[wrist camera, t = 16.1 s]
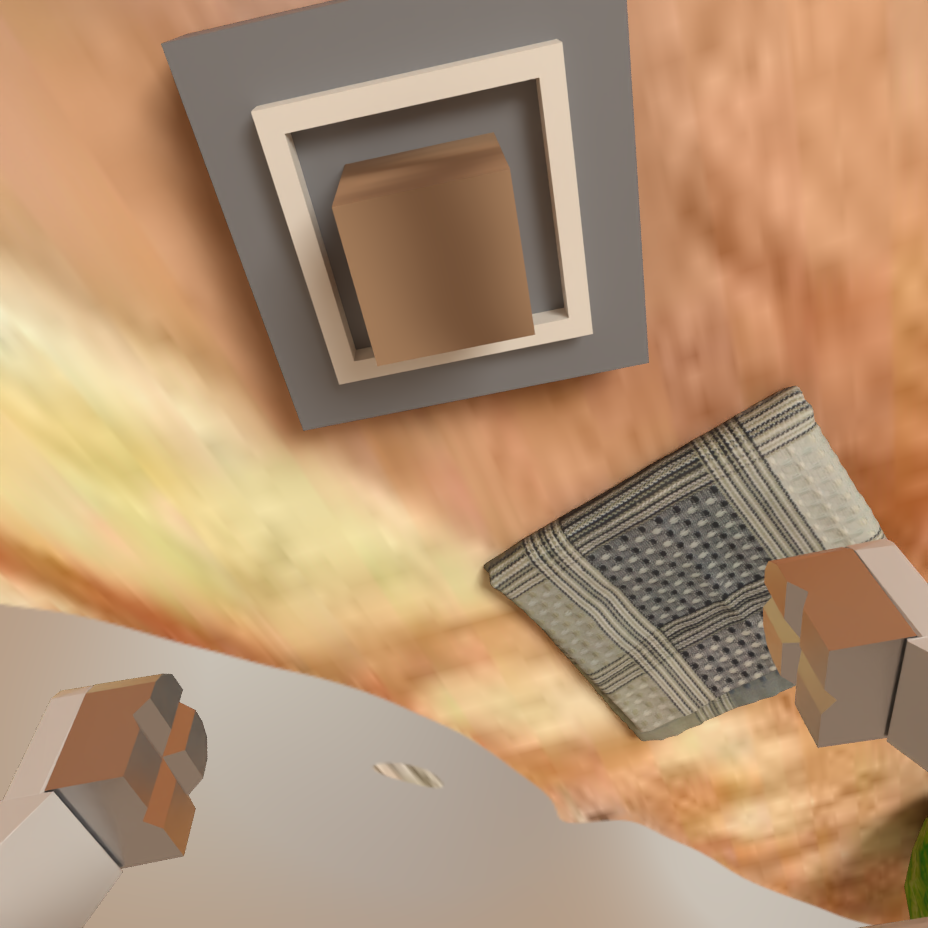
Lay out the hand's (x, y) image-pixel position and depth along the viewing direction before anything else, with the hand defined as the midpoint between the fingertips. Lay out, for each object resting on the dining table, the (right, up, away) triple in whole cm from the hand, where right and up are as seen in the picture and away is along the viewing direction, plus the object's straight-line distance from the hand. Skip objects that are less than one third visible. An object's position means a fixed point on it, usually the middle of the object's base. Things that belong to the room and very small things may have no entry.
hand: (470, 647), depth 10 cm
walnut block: (-1, +11, +16) cm, 19 cm away
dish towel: (+13, -4, +31) cm, 34 cm away
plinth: (-1, +12, +19) cm, 22 cm away
